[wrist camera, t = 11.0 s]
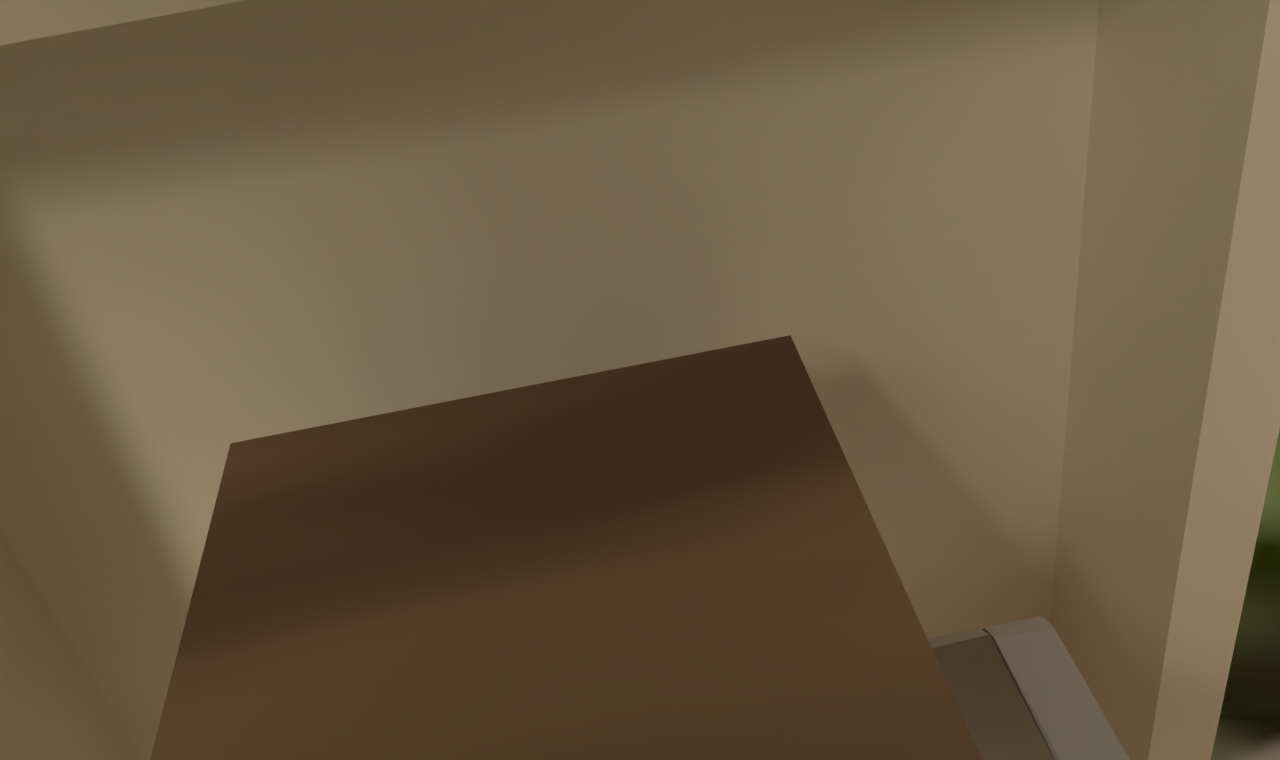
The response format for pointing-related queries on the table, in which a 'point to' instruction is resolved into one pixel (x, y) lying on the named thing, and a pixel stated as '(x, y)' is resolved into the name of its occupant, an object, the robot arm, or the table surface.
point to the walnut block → (559, 584)
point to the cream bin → (649, 288)
